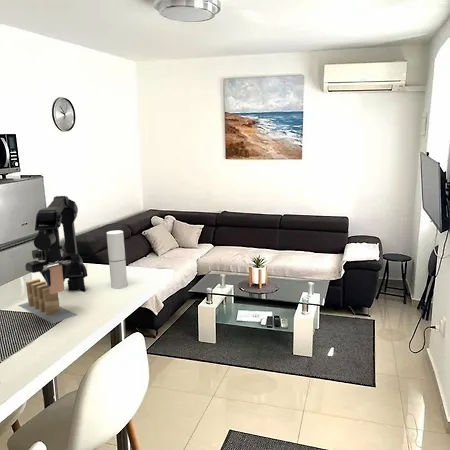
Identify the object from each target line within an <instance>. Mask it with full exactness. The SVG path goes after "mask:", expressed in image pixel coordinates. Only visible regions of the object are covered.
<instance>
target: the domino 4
mask: <svg viewBox="0 0 450 450" xmlns="http://www.w3.org/2000/svg"><path fill="white" fill-rule="evenodd" d="M42 291H43V299H44V307H45V314H46V315H50V314H53V313H56V312H59V311H60V307H61V306H60V300H59V299H60V298H59V293H55V294H50V293H49V288H45V289H42ZM59 306H60V307H59Z"/></svg>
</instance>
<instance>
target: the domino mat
mask: <svg viewBox="0 0 450 450" xmlns="http://www.w3.org/2000/svg"><path fill="white" fill-rule="evenodd" d="M18 307H20V308H22V309H24V310H26V311H28V312H29V313H31V314H33V315H35V316H37V317H39V318H40V319H43V320H45V321H47V322H48V323H50V324H56V323H59V322H61V321H63V320H64V321H65V320H67V319H70V318H72V317H75V316H78V314H77V313H74V312H73V311H71V310H69V309H67V308H64V307H62V306H60V305H59V307H60V311H59V312H56V313H53V314H50V315H46V314H45V312H40V310H39V309H37V310H36V309H34V306H32V307H30V306H29V302H28V301H27V302H25V303H21V304H18Z"/></svg>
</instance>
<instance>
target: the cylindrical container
mask: <svg viewBox="0 0 450 450" xmlns="http://www.w3.org/2000/svg"><path fill="white" fill-rule="evenodd" d="M124 235H125V234H124V231H123V230H120V229H119V230H109V231H107V232H106V242H107V253H108V264H109V277H110V287H111V288H112V289H113V290H114V289H115V290H117V289H124V288H126V287H128V276H127V265H126V264H127V263H126V251H125V238H124Z"/></svg>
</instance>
